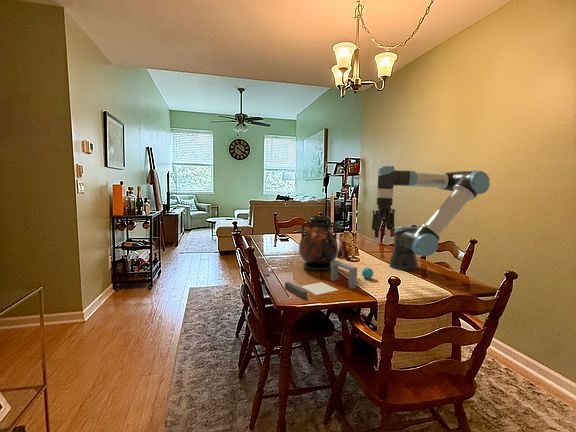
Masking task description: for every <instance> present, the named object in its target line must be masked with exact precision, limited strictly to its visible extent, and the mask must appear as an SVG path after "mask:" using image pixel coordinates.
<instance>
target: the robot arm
mask: <svg viewBox="0 0 576 432" xmlns="http://www.w3.org/2000/svg"><path fill="white" fill-rule="evenodd" d="M490 180H491V179H490V178H489V175H488V174H487V173H486V172H485V171H483V170H482V171H481V170H477V169H476V170H470V171H469V170H463V171H462V170H461V171H453V172H441V173H427V172H416V171H414V170H398V169H397V170H396V168H395V166H393V165H381V166H379V167H378V171H377V194H376V195H377V198H376V205H377V209H373V210H372V222H371V223H372V224H371V230H373V231H374V244H377V245H380V244H381V233H382V231H380V229H381V226H382V223H383V220H384V221H385V222H384V223H385V227H386V229H385V230H384V243H387V244H390V243H391V236H392V231H393V230H394V235H393V236H394V237H393V240H394V241H393V252H392V256H391V258H390V260H389V267H391V268H393V269H396V270H402V271H416V270H419V269H418V268H419V263H418V259H417V256H421V257H429V256H431V255H434V254H435V253H436V251H437V250H438V249H439V241H440V239H441V237H440V234H441V233H442V232H443V231H444V230H445V228H446V227H447V226H448V225H449V224H450V223H451V222H452V220H453V219H454V218H455V217H456V215H457V214H458V213H459V212H460V211H461V210H462V209H463V208H464V206H466V204H467V203H468V201H473V200H474V199H476V198H477V196H478V195H482V194H485V193H486V192H488V190H489V188H490V186H491V185H490V184H491V183H490ZM394 186H395V187H397V186H400V187H401V186H402V187H403V186H404V187H419V188H422V187H423V188H434V189H435V188H437V189H438V190H441V191H449V192H450V191H451V193H450V195H449V196H448V197H447V198H446V199H445V201H443V203H442V204H441V205H440V206H439V208H437V210H436V211H435V212H434V213H433V214H432V216H431V217H430V218H429V219H428V220H427V221H426V222H425V223H424V224H420V225H419V226H418V227H416V226H396V227H395V212H396V209H394V208H392V207H391V206H393V197H394ZM416 255H417V256H416Z"/></svg>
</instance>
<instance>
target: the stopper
mask: <svg viewBox="0 0 576 432" xmlns="http://www.w3.org/2000/svg"><path fill="white" fill-rule="evenodd" d="M284 289H286V290H288V291H290V292H291V293H293V294H294V295H296V296H298V297H300V298H302V299H306V298H307V297H308V290H306V289H304V288H302V287H299V286H298V285H295V284H294V283H292V282H290V281H286V282H284Z"/></svg>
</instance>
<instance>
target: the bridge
mask: <svg viewBox="0 0 576 432" xmlns="http://www.w3.org/2000/svg"><path fill="white" fill-rule="evenodd" d="M339 267H340V268H343V269H345V270H347V271H348V288H349V289H357V284H358V283H357V281H358V267H356V266H353V265H350V264H348V263H345V262H341V261H340V260H339V261H338V260H336V259H335V260H334V261H331V269H330V281H332V282H333V281H334V282H335V281H339Z"/></svg>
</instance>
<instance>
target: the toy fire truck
mask: <svg viewBox="0 0 576 432" xmlns="http://www.w3.org/2000/svg"><path fill="white" fill-rule="evenodd" d="M346 244H347V243H346V241H344V240H343V239H341V238H340V239H339V241H338V255H337V257H336V259H337V258H341V257H343V258H345V259H347V257H348V258H349V257H350V256H349V255H350V254H349V253H350V252H349V250H347V249H346V248H347V247H346Z"/></svg>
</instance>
